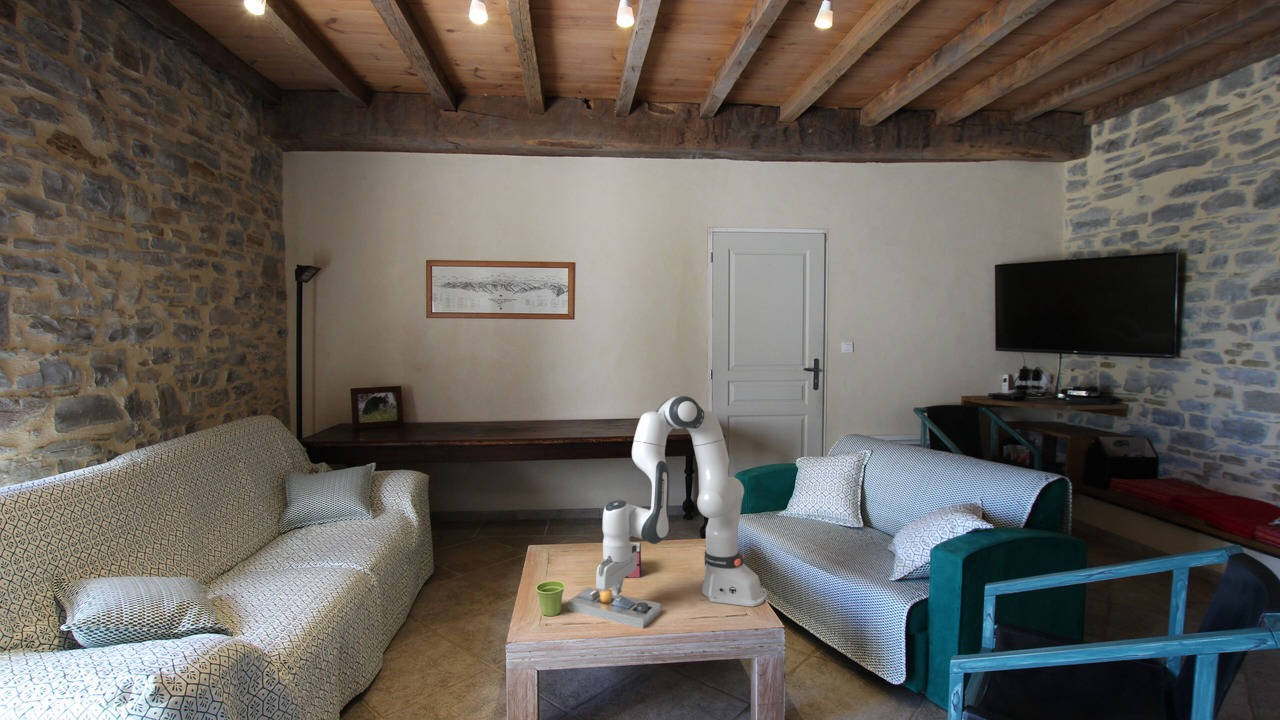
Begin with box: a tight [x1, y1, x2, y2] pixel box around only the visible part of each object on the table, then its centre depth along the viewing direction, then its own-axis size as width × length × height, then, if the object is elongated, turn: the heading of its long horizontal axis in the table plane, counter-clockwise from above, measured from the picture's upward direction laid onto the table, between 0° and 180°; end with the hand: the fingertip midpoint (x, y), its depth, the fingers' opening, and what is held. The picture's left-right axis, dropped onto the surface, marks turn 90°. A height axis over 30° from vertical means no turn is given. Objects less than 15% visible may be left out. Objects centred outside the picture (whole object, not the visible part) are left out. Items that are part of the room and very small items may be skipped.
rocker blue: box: [613, 594, 635, 610], centre depth 200 cm, size 6×4×2 cm
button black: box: [636, 603, 648, 614], centre depth 197 cm, size 4×4×4 cm
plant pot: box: [535, 580, 566, 617], centre depth 202 cm, size 9×9×9 cm
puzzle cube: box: [624, 542, 642, 579], centre depth 234 cm, size 10×10×10 cm
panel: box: [567, 587, 662, 629], centre depth 202 cm, size 28×12×3 cm, turn 61°
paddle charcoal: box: [578, 589, 599, 601], centre depth 207 cm, size 6×4×2 cm
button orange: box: [600, 589, 612, 605], centre depth 204 cm, size 4×4×4 cm
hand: (617, 593), depth 202 cm, fingers closed
